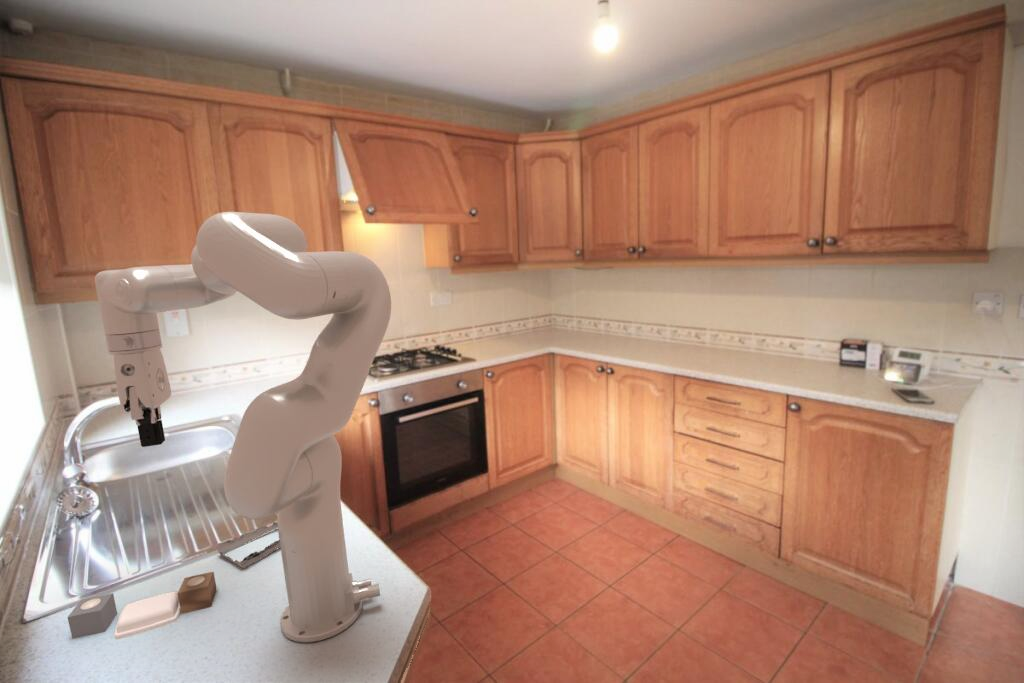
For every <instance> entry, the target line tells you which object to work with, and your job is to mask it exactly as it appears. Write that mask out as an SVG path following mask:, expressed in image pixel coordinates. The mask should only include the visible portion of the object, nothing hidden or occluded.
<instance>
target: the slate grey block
mask: <svg viewBox="0 0 1024 683" xmlns="http://www.w3.org/2000/svg"><path fill="white" fill-rule="evenodd" d="M114 596H115V595H114V593H113V592H112V593H108V594H103V595H97V596H93V597H87V598H83V599H81V600H79V602H78V603H77V604H76V606H75V607H74V608H73V610H72V611H71V612H70V613H69V615H68V616H67V622H68V626H69V631H70V634H71V639H72V640H73V639H77V638H82V637H88V636H92V635H96V634H100V633H106V632H107V630H108V628H109V627H110V625H112V623H113V621H114V620H115V617H116V616H117V614H118V610H117V606H116V600H115V597H114Z"/></svg>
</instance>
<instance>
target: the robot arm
mask: <svg viewBox="0 0 1024 683" xmlns="http://www.w3.org/2000/svg"><path fill="white" fill-rule="evenodd" d="M196 234H197V235H196V242H195V243H196V244H195V246H194V247H193V248H192V251H191V253H190V254H191V255H190V262H191V263H190V264H166V265H164V264H163V265H151V266H150V265H147V266H146V265H145V266H135V267H133V266H132V267H129V268H124V269H122V268H121V269H108V270H107V269H106V270H103V271H100V272H98V273H96V275H95V277H94V283H95V284H94V285H95V290H96V295H97V299H98V304H99V309H100V315H101V320H102V324H103V331H104V336H105V342H106V346H107V352H108V355H113V363H114V373H115V374H114V375H115V383H116V388H117V389H116V391H117V395H118V401H119V404H120V405H119V406H120V407H121V409H122V411H123V412H126V413H129V412H130V417H131V421H135V425H136V426H137V431H138V437H139V441H140V446H141V447H144V448H146V447H151V446H152V447H154V446H158V445H162V444H163V443H164V442H165V441H166V438H165V437H166V436H165V432H164V431H165V430H164V426H163V421H162V412H161V411H162V410H161V405H163V404H164V403H165V402H166V401H167V400H168V399H169V398H171V396H172V389H171V384H170V380H169V375H168V371H167V366H166V364H165V360H164V356H163V353H162V350H161V349H162V348H163V342H162V338H161V336H162V335H161V331H160V325H159V320H158V319H159V318H158V314H157V313H166V312H169V311H170V312H171V311H178V310H186V309H187V310H188V309H194V308H195V309H196V308H201V307H205V306H208V305H210V304H214V303H217V302H219V301H220V302H221V301H223V300H226V299H228V298H230V297H233V296H234V295H235V294H236V293H237V292H238V293H240V294H242V295H243V296H245V297H246V298H248V299H250V301H253V302H254V303H255V304H257V305H258V306H260V307H261V308H263V309H264V310H266V311H268V312H269V313H271V314H273V315H275V316H278V317H280V318H284V319H287V320H300V321H301V320H306V319H312V318H316V317H321V316H322V317H323V316H327V315H332V317H331V318H330V320H329V322H328V323H327V324H326V325H325V327H324V328H323V329H322V330H321V332H320V333H319V334H318V336H317V338H316V339H315V341H314V343H313V345H312V347H311V350H310V353H309V357H308V360H307V361H306V364H305V366H304V368H303V370H302V372H301V374H299V375H298V376H297V377H295V378H294V379H293V380H290V381H287V382H285V383H282V384H279V385H276V386H274V387H271V388H269V389H266V390H264V391H263V392H261V393H260V394H259V395H257V396H256V397H255V398H254V399H253V400H251V402H250V404H249V405H248V406H247V407H246V409H245V411H244V413H243V415H242V418H241V421H240V424H239V427H238V429H237V433H236V436H235V439H234V442H233V446H232V448H231V452H230V454H229V458H228V460H227V464H226V468H225V471H224V472H225V473H224V478H223V479H224V480H223V489H224V494H225V499H226V500H227V503H228V505H229V507H230V508H231V510H232V511H233V512H234V513H235V514H237V515H238V516H240V517H242V518H243V519H248V520H262V519H266V518H269V517H271V516H273V515H275V514H277V521H276V522H277V523H278V530H277V531H278V532H277V533H278V538H279V539H278V540H279V541H280V552H281V553H280V554H281V561H282V566H283V567H282V568H283V574H284V582H285V589H286V594H287V595H286V596H287V602H288V606H287V607H286V608H285V609H284V611H283V612H282V614H281V617H280V622H279V623H280V629H281V632H282V634H283V635H284V636H285V637H286V638H287V639H289V640H291V641H293V642H294V641H295V642H298V643H314V642H319V641H323V640H326V639H330V638H331V637H333V636H336V635H338V634H340V633H341V632H343V631H345V630H346V629H348V628H349V627H351V625H352V624H353V623H354V622H355V621H357V619H358V617H359V616H360V614H361V612H362V610H363V600H366V599H373V598H378V597H380V596H381V593H380V592H381V590H380V584H379V583H374V584H372V579H371V578H366V579H363V580H360V581H357V580H354V579H353V573H352V572H350V570H349V563H348V561H349V560H348V554H347V547H346V546H347V545H346V538H345V530H344V523H343V521H344V520H343V512H342V511H343V510H342V501H341V478H342V468H343V466H342V465H343V464H342V461H343V459H342V457H343V456H342V450H341V446H340V444H339V442H338V440H337V438H336V436H335V434H337V433H338V432H340V431H342V430H343V429H344V428H345V427H346V426H347V424H348V423H349V422H350V419H351V418H352V415H353V412H354V410H355V407H356V405H357V403H358V400H359V398H360V395H361V392H362V390H363V388H364V385H365V383H366V380H367V378H368V376H369V373H370V370H371V367H372V365H373V362H374V360H375V358H376V355H377V353H378V350H379V349H380V347H381V345H382V341H383V340H384V337H385V336H386V332H387V330H388V327H389V323H390V319H391V315H392V314H391V313H392V296H391V291H390V287H389V284H388V281H387V279H386V278H385V275H384V274H383V272H382V270H381V269H380V267H378V265H377V264H376V263H374V261H372V259H370V258H368V257H367V256H364V255H362V254H359V253H357V252H351V251H343V250H342V251H341V250H340V251H338V250H336V251H335V250H331V251H329V250H327V251H307V250H308V243H307V242H308V241H307V238H306V235H305V233H304V232H303V230H302V228H301V227H300V226H299V225H298V224H297V223H296V222H295V221H293V220H291V219H289V218H288V217H284V216H281V215H278V214H274V213H273V214H271V213H260V212H259V213H258V212H256V213H255V212H243V211H242V212H241V211H223V212H218V213H215V214H214V215H211V216H210V217H208V218H207V219H206V220H205V221H204V222H203V223H202V224H201V226H200V227H199V229H198V232H197V233H196Z"/></svg>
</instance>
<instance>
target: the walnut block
mask: <svg viewBox="0 0 1024 683" xmlns="http://www.w3.org/2000/svg"><path fill="white" fill-rule="evenodd" d="M216 583H217V582H216V578H215V572H214V571H213V570H212V571H210V572H206V573H200V574H196V575H191V576H187V577H184V578H183V581H182V583H181V585H180V587H179V590H178V591H177V593H178V598H179V604H180V609H181V613H180V615H183V614H186V613H187V614H188V613H191V612H195V611H199V610H204V609H207V608H208V609H209V608H212V606H213V604H214V601H215V598H216V595H217V592H218V588H217V585H216Z"/></svg>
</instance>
